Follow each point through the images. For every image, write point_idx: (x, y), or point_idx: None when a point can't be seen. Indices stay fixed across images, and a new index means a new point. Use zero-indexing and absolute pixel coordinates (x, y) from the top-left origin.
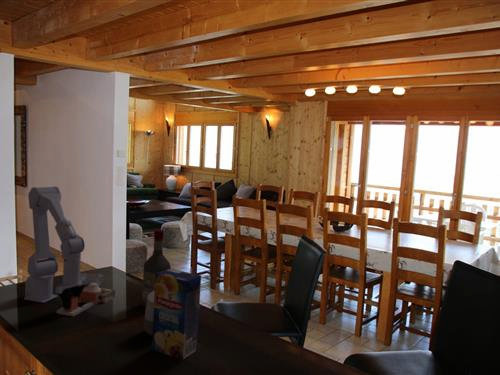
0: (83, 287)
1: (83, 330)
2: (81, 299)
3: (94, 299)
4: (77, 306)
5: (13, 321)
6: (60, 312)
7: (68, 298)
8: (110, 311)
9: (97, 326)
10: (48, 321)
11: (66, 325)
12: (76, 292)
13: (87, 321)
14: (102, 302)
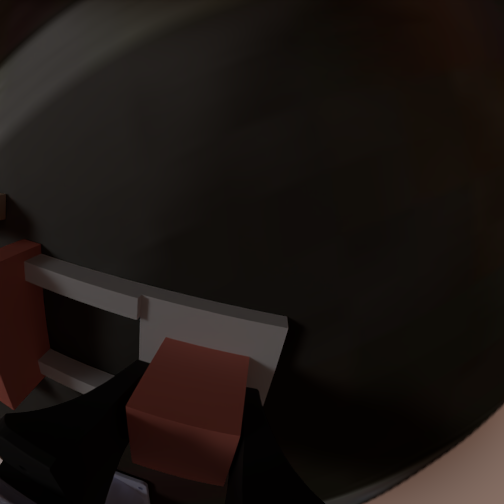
0: (20, 431)
1: (498, 146)
2: (38, 354)
3: (15, 264)
4: (165, 348)
5: (368, 492)
6: None
7: (292, 473)
8: (120, 68)
9: (433, 64)
10: (381, 409)
11: (446, 288)
12: (100, 449)
13: (371, 161)
14: (5, 214)
